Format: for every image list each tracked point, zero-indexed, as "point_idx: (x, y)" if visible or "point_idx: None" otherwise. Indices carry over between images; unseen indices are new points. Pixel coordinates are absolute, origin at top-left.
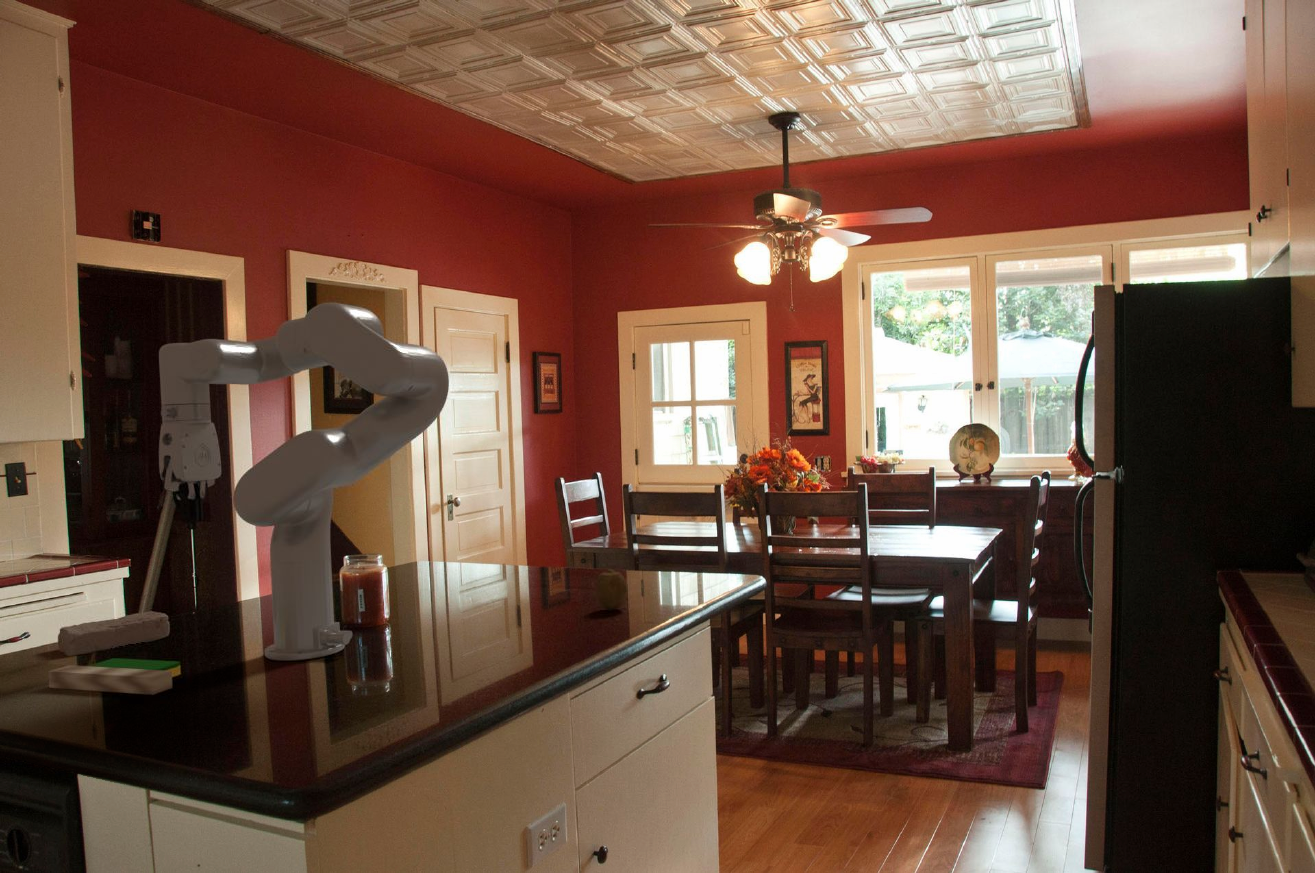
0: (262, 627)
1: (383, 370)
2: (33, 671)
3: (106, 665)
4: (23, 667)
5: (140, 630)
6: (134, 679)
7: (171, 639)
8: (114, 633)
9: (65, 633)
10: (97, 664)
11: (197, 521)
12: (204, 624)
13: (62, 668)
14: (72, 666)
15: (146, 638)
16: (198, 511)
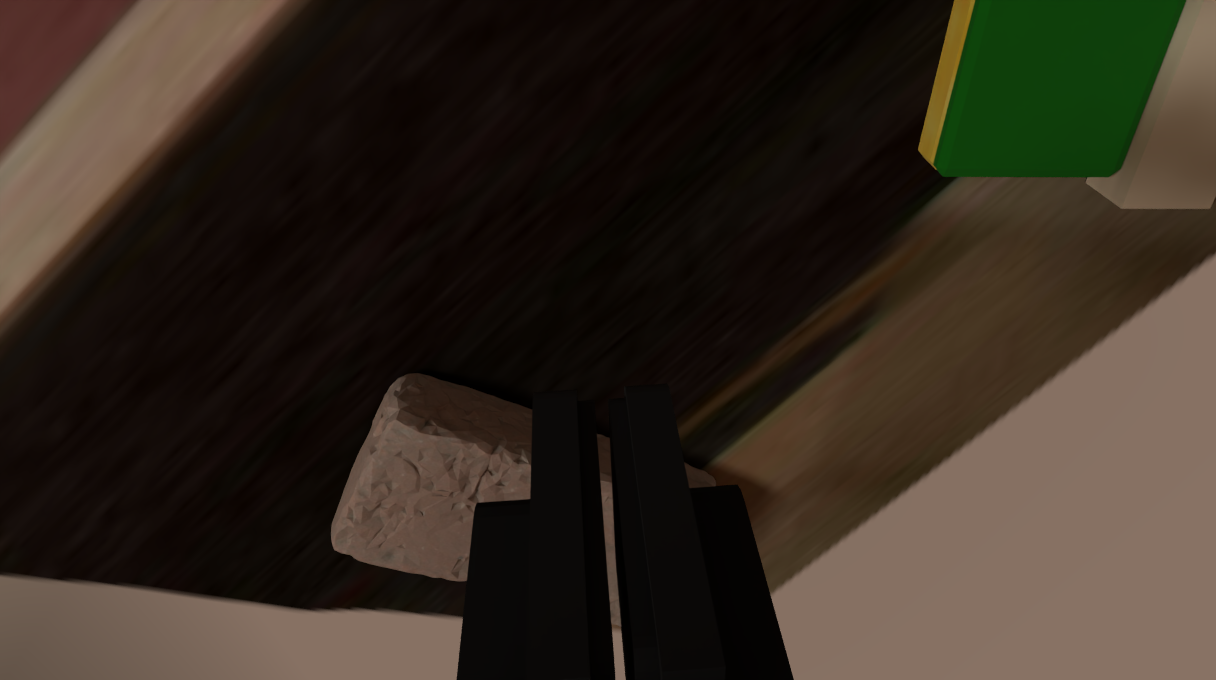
0: (67, 79)
1: None
2: (920, 423)
3: (1076, 90)
4: (866, 491)
5: (507, 430)
6: None
7: (425, 333)
8: None
9: None
10: (1050, 147)
11: (646, 385)
12: (158, 408)
13: (1173, 190)
14: (1147, 176)
15: (488, 401)
16: (635, 481)
